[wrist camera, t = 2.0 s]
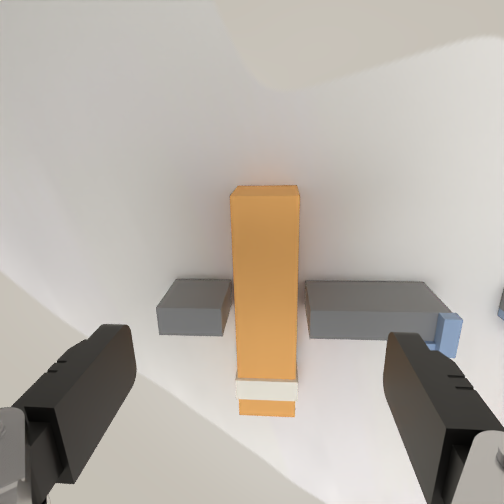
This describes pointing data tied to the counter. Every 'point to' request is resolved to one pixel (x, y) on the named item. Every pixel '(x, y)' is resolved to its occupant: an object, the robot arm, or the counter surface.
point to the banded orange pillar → (266, 297)
